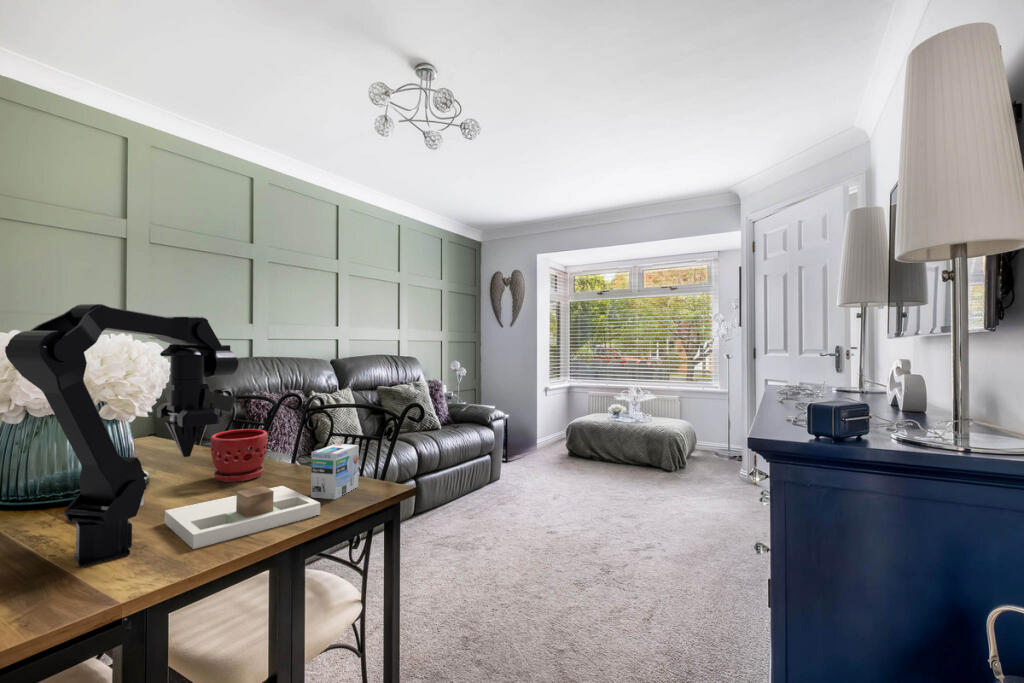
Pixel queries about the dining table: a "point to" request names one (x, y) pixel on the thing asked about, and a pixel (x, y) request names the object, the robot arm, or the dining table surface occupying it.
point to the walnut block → (254, 501)
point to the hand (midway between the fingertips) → (186, 456)
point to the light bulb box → (334, 471)
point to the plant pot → (238, 454)
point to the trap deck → (236, 517)
